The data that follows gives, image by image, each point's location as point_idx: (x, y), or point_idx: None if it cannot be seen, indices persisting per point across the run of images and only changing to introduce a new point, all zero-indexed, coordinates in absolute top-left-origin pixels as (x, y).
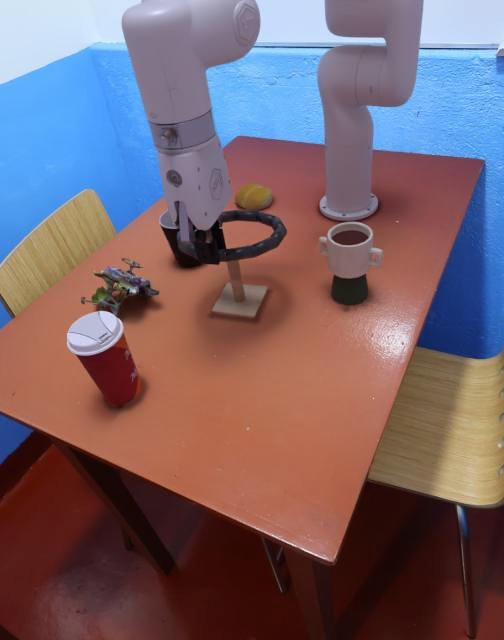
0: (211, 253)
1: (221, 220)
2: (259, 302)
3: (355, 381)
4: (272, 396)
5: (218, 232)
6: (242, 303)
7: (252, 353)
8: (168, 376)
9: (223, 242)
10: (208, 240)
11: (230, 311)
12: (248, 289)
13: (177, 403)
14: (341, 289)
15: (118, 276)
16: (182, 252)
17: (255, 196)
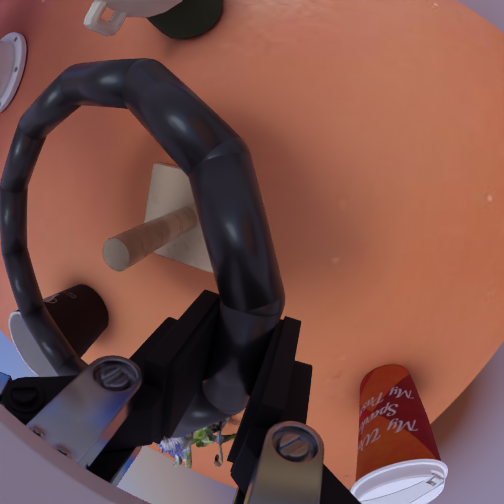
0: (291, 377)
1: (93, 370)
2: None
3: (407, 16)
4: (440, 152)
5: (175, 376)
6: None
7: (337, 186)
8: (369, 333)
9: (198, 323)
10: (320, 454)
11: None
12: (160, 203)
13: (427, 312)
14: (200, 5)
15: (187, 446)
16: (90, 334)
17: None
